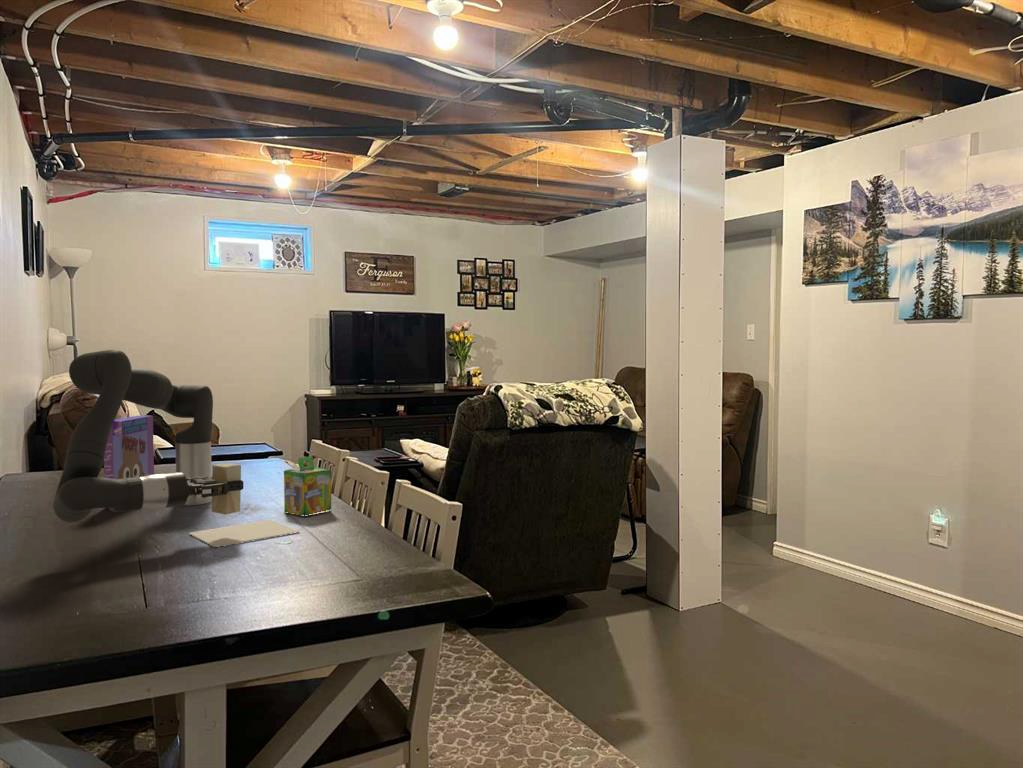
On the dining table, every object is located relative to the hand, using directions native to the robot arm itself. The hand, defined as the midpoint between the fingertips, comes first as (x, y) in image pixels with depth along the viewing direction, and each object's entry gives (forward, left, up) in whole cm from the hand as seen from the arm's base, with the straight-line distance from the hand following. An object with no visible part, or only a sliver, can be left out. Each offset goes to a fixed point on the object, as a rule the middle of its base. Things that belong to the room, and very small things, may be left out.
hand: (236, 482), depth 173 cm
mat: (0, +2, -12) cm, 12 cm away
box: (0, -3, -7) cm, 7 cm away
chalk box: (-11, +24, -13) cm, 29 cm away
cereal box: (-57, -7, -13) cm, 59 cm away
